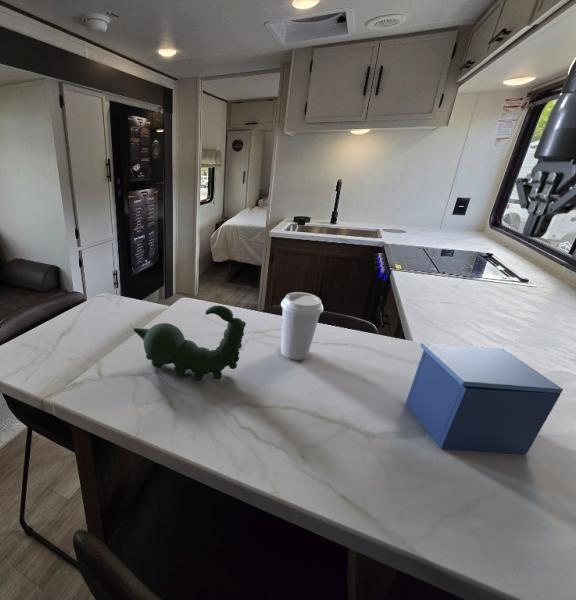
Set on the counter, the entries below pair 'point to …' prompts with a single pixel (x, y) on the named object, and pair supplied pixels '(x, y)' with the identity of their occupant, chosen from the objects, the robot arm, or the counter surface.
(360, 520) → the counter surface
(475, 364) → the lid
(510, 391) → the case
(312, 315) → the coffee cup
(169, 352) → the toy figurine
